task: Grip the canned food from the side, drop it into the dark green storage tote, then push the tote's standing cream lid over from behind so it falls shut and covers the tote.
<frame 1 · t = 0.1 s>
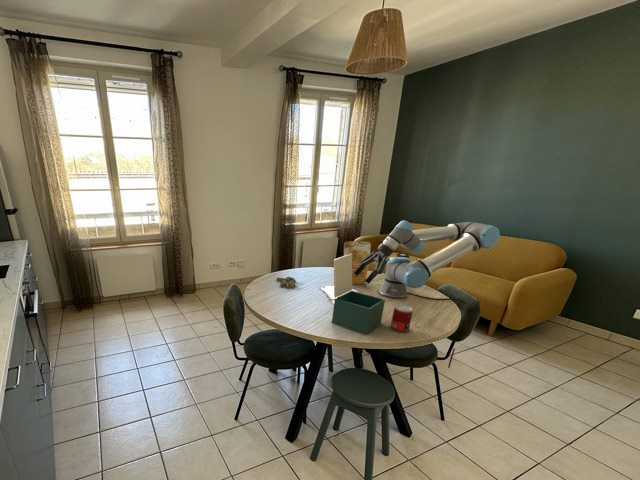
hand: (360, 278, 179), 15 cm above the table, tool tilted 35°, fingers open, 13 cm apart
travel mug: (397, 283, 220), on the table
canned food: (399, 329, 157), on the table
lid: (343, 275, 160), point 22 cm above the table, hinge at 98.0°
tray: (343, 295, 198), on the table
pancake mix bag: (352, 283, 220), on the table
tote: (356, 323, 162), on the table
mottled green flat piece: (286, 283, 217), on the table
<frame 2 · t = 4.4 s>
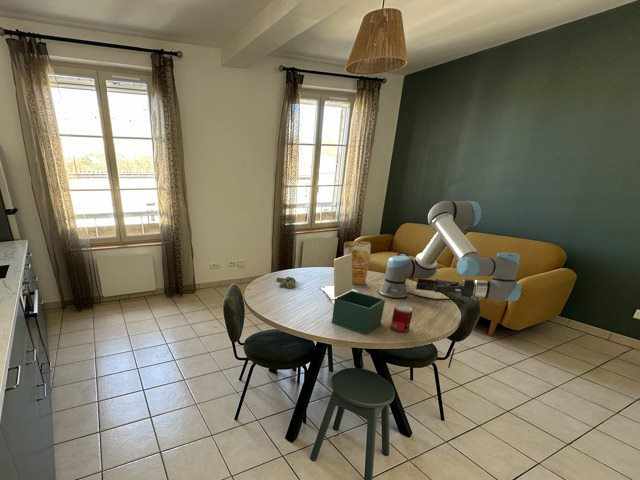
hand: (416, 283, 150), 22 cm above the table, tool horizontal, fingers open, 13 cm apart
nothing on the table moved.
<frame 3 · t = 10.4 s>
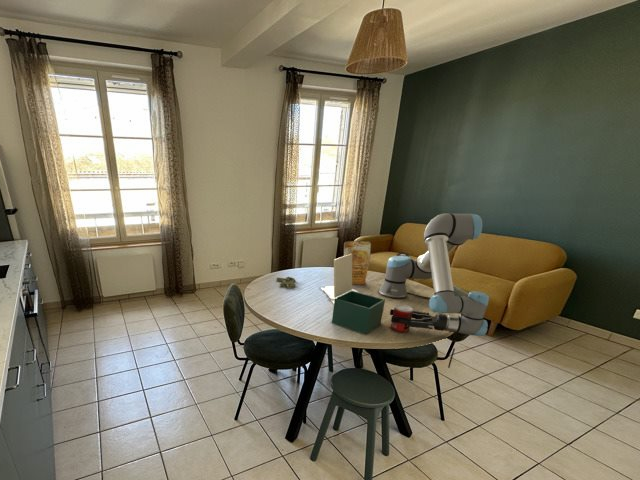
hand: (390, 315, 156), 6 cm above the table, tool horizontal, fingers closed on canned food, 8 cm apart
canned food: (399, 329, 157), on the table, touching gripper
everything else where it was.
when the fingers open (15 cm above the table, at t = 18.0 s): canned food drops 8 cm, resting on tote.
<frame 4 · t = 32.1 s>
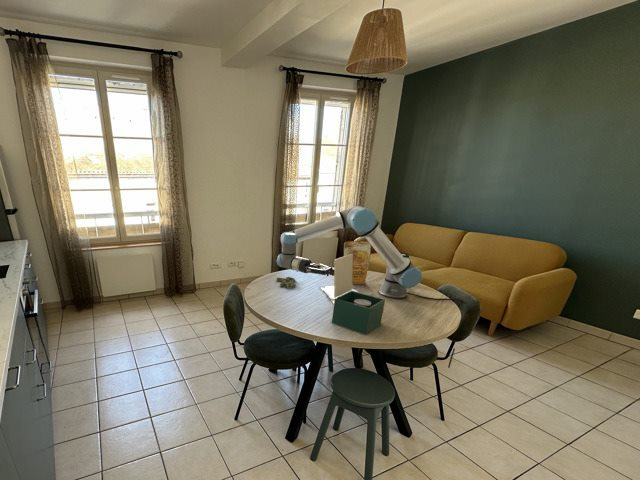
hand: (342, 274, 161), 23 cm above the table, tool horizontal, fingers closed
canned food: (359, 322, 161), point 1 cm above the table, touching tote
lid: (343, 275, 160), point 22 cm above the table, hinge at 97.0°, touching gripper
everything else where it was.
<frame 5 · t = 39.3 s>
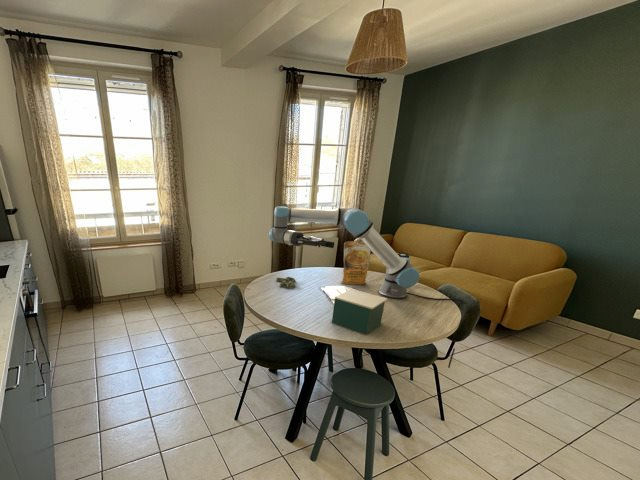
hand: (333, 245, 161), 36 cm above the table, tool horizontal, fingers closed
lid: (361, 298, 157), point 13 cm above the table, hinge at -0.1°
everything else where it was.
at the end: canned food inside the target area in the tote (1.6 cm from its centre), point 0.6 cm above the tote's base; lid at +0° (first picture: +98°) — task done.
